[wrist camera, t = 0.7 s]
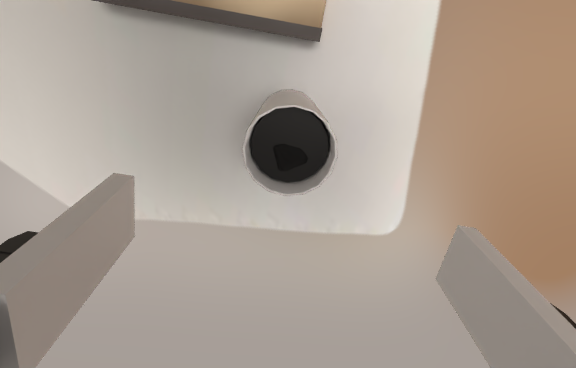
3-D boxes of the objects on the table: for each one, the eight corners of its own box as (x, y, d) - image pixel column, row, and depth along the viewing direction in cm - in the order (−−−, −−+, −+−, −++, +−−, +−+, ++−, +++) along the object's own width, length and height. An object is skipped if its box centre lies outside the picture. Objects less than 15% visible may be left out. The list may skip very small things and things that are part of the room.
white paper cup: (330, 142, 34) (347, 182, 25) (266, 160, 35) (259, 206, 26) (313, 75, 31) (324, 91, 22) (244, 96, 32) (227, 121, 23)
